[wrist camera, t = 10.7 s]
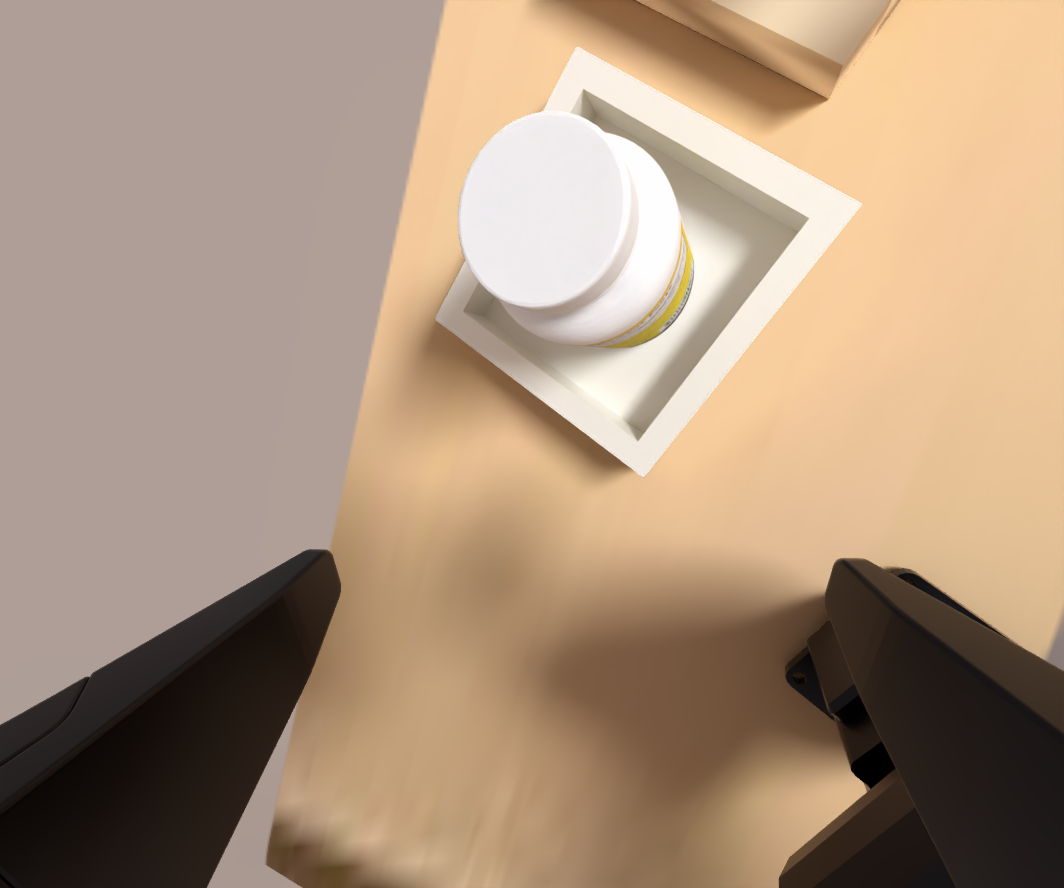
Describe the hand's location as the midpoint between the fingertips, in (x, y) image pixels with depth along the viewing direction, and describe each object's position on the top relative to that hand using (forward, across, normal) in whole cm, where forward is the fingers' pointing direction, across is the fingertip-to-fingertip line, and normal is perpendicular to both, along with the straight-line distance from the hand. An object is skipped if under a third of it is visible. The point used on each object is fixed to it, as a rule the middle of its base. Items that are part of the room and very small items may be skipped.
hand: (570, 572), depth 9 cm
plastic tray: (+14, -2, -3) cm, 15 cm away
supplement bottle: (+14, -2, -3) cm, 14 cm away
